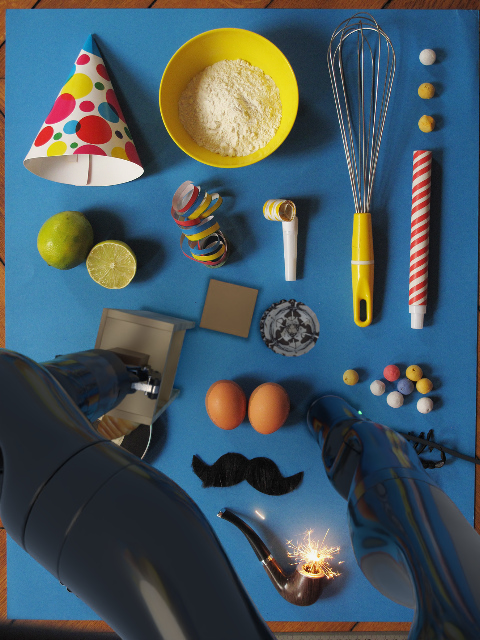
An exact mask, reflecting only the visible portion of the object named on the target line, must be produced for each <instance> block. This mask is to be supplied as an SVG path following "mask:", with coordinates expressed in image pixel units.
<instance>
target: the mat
mask: <svg viewBox="0 0 480 640" xmlns="http://www.w3.org/2000/svg"><path fill="white" fill-rule="evenodd" d="M258 294H259V289H257V288H256V289H255V288H252V287H247V286H243V285H239V284H235V283H232V282H231V283H230V282H226V281H222V280H218V279H214V278H213V279H212V278H210V279H209V285H208V288H207V292H206V297H205V301H204V306H203V309H202V314H201V319H200V323H199V327H200V328H202V329H208V330H211V331H216V332H220V333H225V334H229V335H233V336H237V337H241V338H245V339H247V338H248V337H249V332H250V329H251V325H252V319H253V316H254V311H255V308H256V307H255V306H256V303H257V298H258Z"/></svg>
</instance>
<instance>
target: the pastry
mask: <svg viewBox="0 0 480 640" xmlns="http://www.w3.org/2000/svg"><path fill="white" fill-rule="evenodd" d="M140 425H143V424H142V423H137V422H133V421H129V420H125V419H121V418H117V417H113V416H108V415H103V416H102V417H101V420H100V422H99V423H98V424H97V430H98V431H99V432H100V433H101V434H102V435H103V436H105V437H106V438H108V439H110V440H111V441H114V440H117V439H121V438H122V437H124V436H128V435H130V434H131V433H132V432H133V431H135V430H136V429H137V428H138V427H139V426H140Z"/></svg>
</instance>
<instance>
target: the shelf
mask: <svg viewBox="0 0 480 640" xmlns="http://www.w3.org/2000/svg"><path fill="white" fill-rule="evenodd" d="M98 325H99V326H98V329H97V335H96V338H95V342H94V348H93V349H104V350H107V349H112V348H116V347H119V348H123V349H127V350H131V351H136V352H140V353H144V354H148V355H150V356H149V360H148V365H150V366H151V369H153V370H154V371H159V372H160V373H161V384H160V389H159V393H158V397H157V399H154V400H151V399H150V398H148V395H144V393H145V391H140V390H138V391H136V392H135V393H134V394H127V395H126V397H125V398H124V399H123V401H122V402H121V403H120V404H119V405H118V406H117V407H115V408H114V409H112V410H111V411H109V412H108V413H106V414H105V415H108V416H113V417H117V418H121V419H125V420H129V421H133V422H137V423H142V424H141V425H146V426H149V427H150V426H152V425H153V424H154V423H155V422H156V421H157V419H159V417H160V416H161V415H162V414H163V413H164V412H165V411H166V410H167V409H168V408H169V406H171V405H172V403H173V402H174V401H175V400H176V399H177V398H178V397H179V396H180V392H181V389H179V388H174V384H175V380H176V375H177V371H178V366H179V363H180V357H181V353H182V350H183V346H184V340H185V338H186V337H185V336H186V332H187V330H191V329H195V328H196V321H193V320H187V319H184V318H179V317H174V316H171V315H167V314H163V313H157V312H153V311H149V310H146V309H145V310H143V309H130V308H128V309H127V308H116V307H115V308H114V307H102V312H101V317H100V321H99V324H98Z"/></svg>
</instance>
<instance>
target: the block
mask: <svg viewBox="0 0 480 640" xmlns="http://www.w3.org/2000/svg"><path fill="white" fill-rule="evenodd" d="M107 351H110V352H112V353H114V354H115V355H116V356H118V357H119V358H120V359H121V360H122V362H123V363H124V364H125V365H126V364H133V365H137V366H140V367H142V366H144V365H148V360H149V356H150V355H148V354H144V353H140V352H136V351H131V350H127V349H123V348H119V347H116V348H112V349H107ZM137 391H138V390H137Z"/></svg>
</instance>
